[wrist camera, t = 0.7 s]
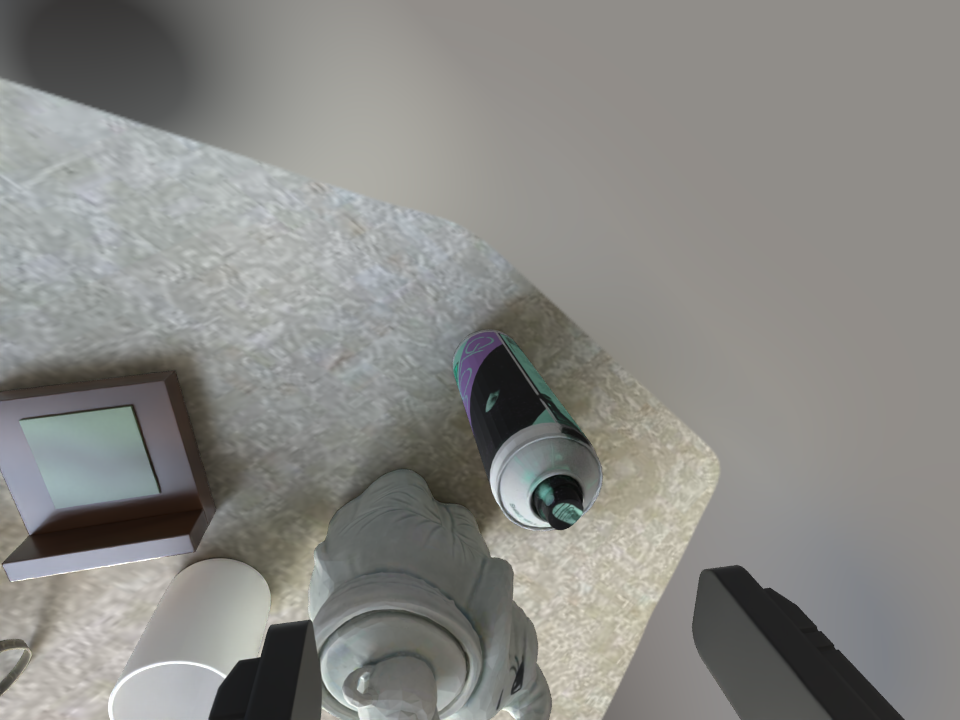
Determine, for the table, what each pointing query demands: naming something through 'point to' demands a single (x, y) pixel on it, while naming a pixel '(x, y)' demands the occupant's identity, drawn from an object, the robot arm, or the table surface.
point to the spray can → (524, 436)
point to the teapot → (419, 614)
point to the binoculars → (21, 665)
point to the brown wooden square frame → (102, 474)
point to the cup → (193, 642)
